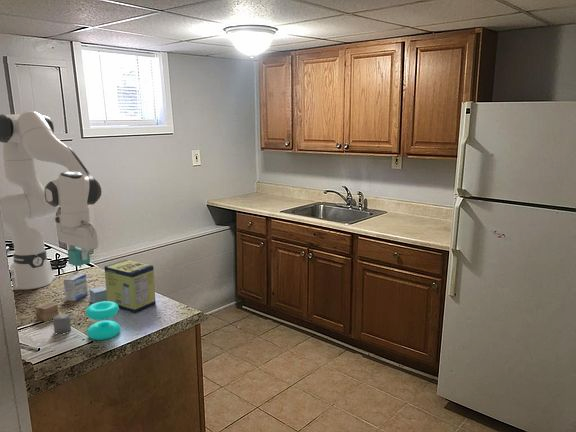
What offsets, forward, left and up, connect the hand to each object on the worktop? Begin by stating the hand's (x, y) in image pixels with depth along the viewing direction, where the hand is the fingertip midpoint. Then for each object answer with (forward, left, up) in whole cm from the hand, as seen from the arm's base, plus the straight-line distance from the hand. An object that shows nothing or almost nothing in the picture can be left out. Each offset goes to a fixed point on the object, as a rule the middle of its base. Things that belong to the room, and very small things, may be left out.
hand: (79, 257), depth 160 cm
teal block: (0, 0, -2) cm, 2 cm away
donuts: (+19, -4, -22) cm, 29 cm away
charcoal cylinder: (+6, -11, -22) cm, 25 cm away
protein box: (+5, +17, -22) cm, 28 cm away
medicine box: (-19, +8, -22) cm, 30 cm away
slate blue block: (-8, +11, -22) cm, 26 cm away
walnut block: (-8, -9, -22) cm, 25 cm away
